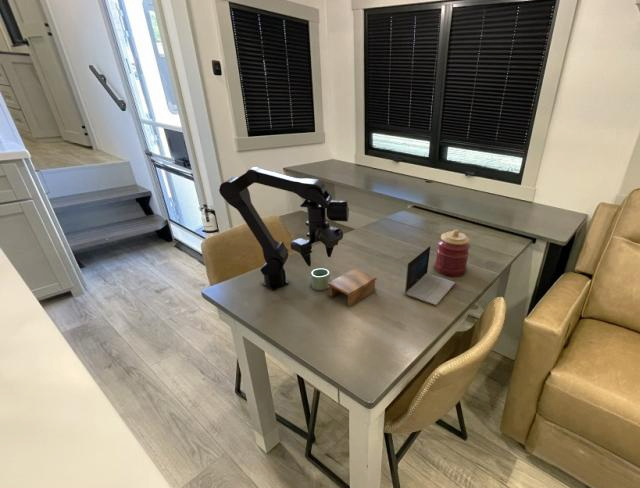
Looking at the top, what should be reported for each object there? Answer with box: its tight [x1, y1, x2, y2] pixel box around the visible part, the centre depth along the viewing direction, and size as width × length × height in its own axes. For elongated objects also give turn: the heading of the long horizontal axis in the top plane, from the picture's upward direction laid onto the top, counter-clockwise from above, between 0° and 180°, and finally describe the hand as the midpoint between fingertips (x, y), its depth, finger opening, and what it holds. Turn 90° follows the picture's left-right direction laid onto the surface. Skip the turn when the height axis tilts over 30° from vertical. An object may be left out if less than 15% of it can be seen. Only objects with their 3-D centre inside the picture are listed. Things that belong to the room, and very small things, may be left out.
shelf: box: [328, 267, 377, 307], centre depth 116 cm, size 14×10×6 cm
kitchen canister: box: [434, 229, 471, 277], centre depth 134 cm, size 13×13×18 cm
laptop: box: [404, 245, 456, 306], centre depth 120 cm, size 18×12×13 cm
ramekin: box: [310, 268, 331, 291], centre depth 119 cm, size 6×6×6 cm
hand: (319, 261), depth 116 cm, fingers open, 9 cm apart
